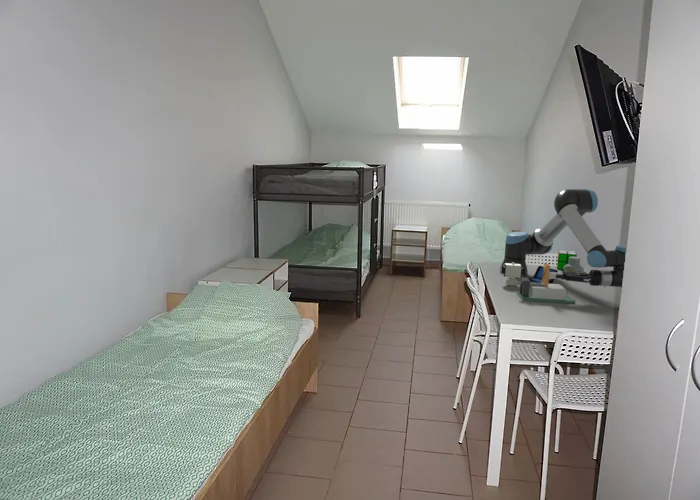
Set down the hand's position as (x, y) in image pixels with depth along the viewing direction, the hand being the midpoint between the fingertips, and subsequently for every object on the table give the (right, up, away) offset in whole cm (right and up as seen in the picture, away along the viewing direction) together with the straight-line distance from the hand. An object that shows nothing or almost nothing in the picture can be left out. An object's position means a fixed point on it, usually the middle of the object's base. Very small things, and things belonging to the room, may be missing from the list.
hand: (548, 275), depth 257 cm
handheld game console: (+9, -6, +36) cm, 38 cm away
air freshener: (+35, -2, +56) cm, 66 cm away
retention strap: (-7, -4, +2) cm, 9 cm away
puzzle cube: (+37, +1, +72) cm, 81 cm away
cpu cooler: (-1, -11, +2) cm, 11 cm away
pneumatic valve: (-10, -6, +27) cm, 29 cm away
